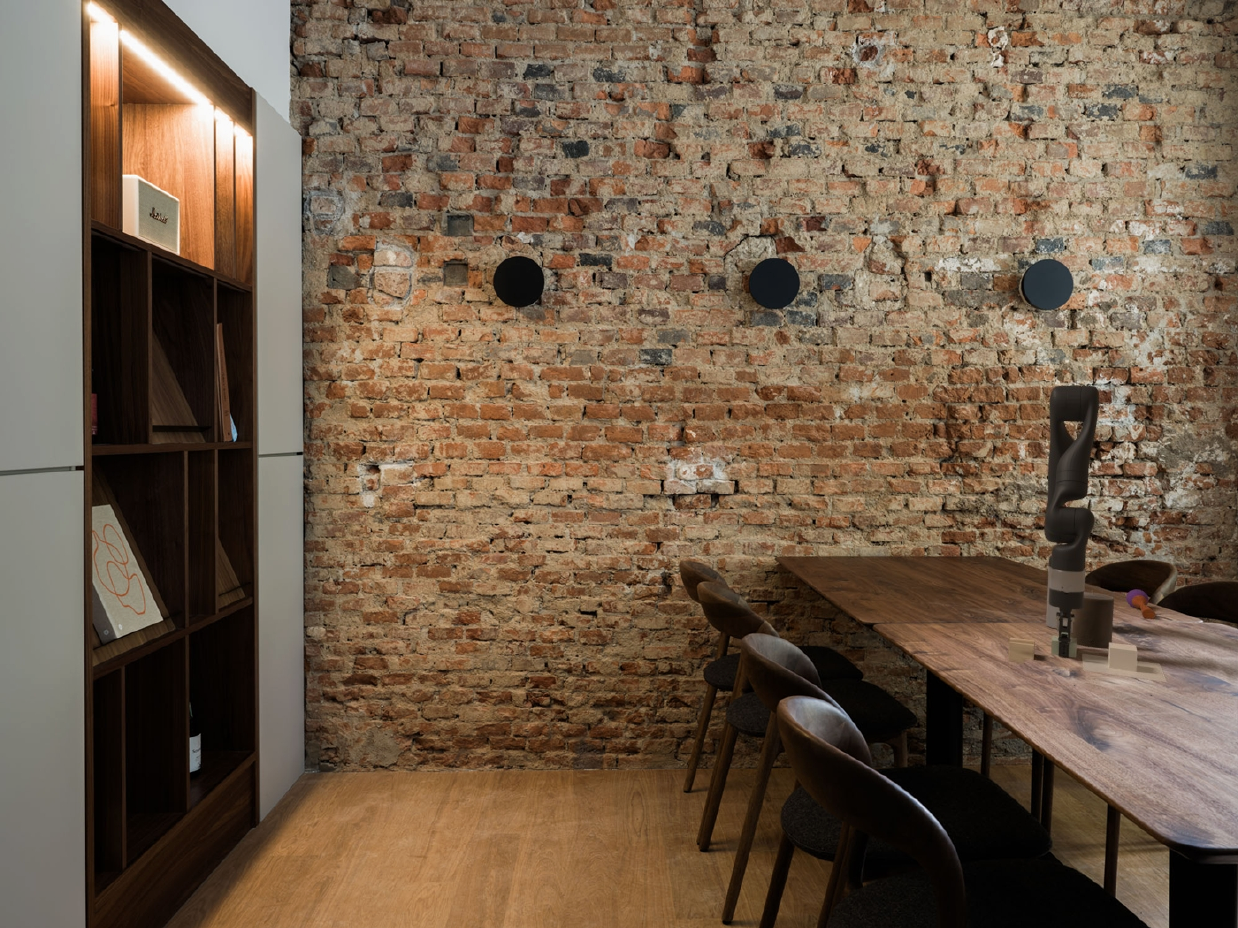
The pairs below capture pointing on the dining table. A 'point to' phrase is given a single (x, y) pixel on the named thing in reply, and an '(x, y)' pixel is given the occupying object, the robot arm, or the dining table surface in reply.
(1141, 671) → the baseplate
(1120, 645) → the beige block
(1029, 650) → the maple block
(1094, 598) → the pillar candle
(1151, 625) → the dining table surface
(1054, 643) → the sage block
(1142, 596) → the kendama
